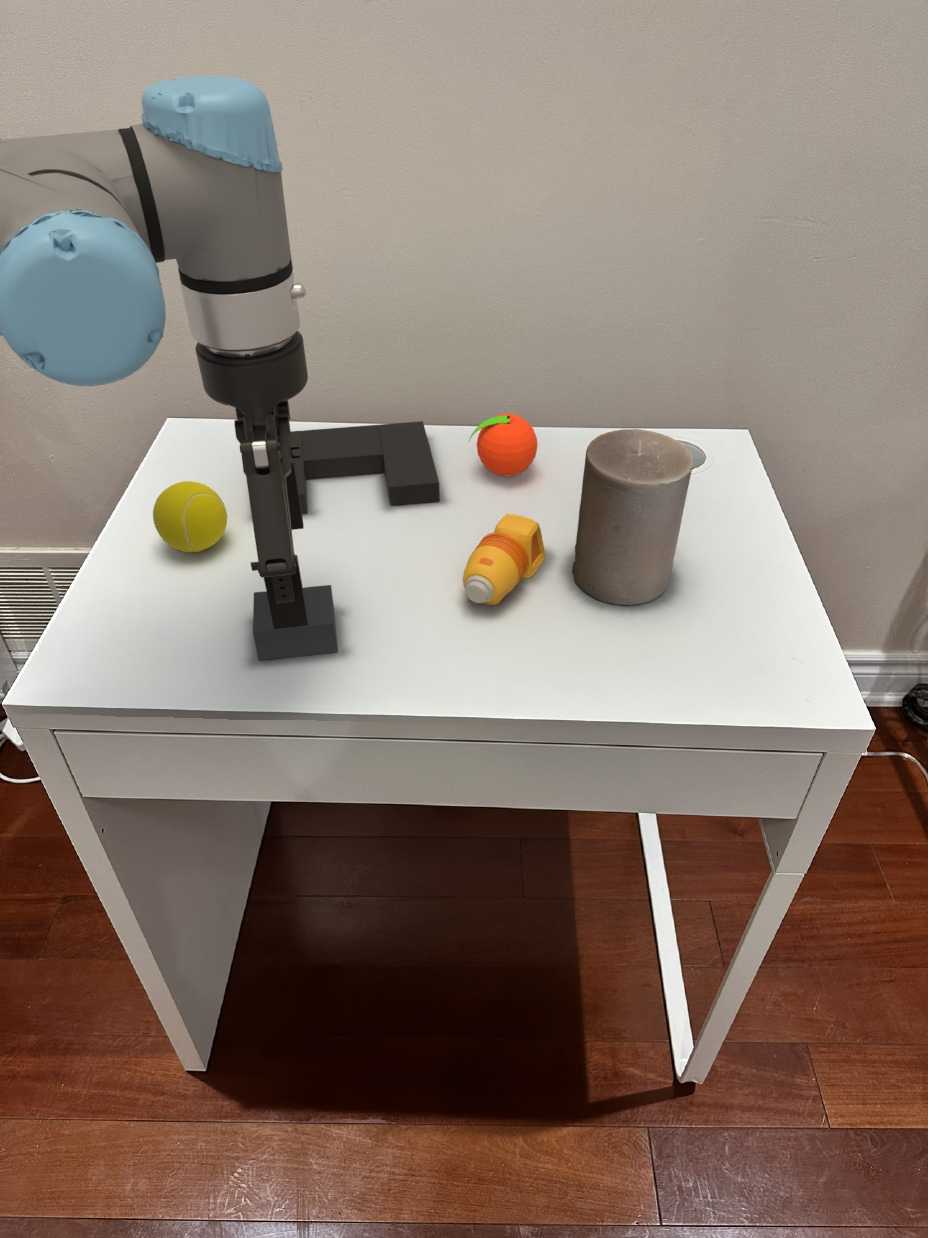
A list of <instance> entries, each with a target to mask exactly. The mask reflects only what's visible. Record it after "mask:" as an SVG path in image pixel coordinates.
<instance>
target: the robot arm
mask: <svg viewBox="0 0 928 1238" xmlns="http://www.w3.org/2000/svg"><path fill="white" fill-rule="evenodd" d="M141 108H142V114H141V121H142V123H140V124H133V125H132V124H131V125H130V126H129V127H125V128H124V127H123V128H118V129H108V130H97V131H96V130H95V131H87V132H86V131H85V132H84V131H83V132H74V133H63V134H62V133H61V134H53V135H41V136H39V135H38V136H30V137H29V136H27V137H16V138H15V137H14V138H6V139H5V138H0V336H1V337H3V338H4V341H6V343H7V345H8V347H10V349H11V350H12V351H13V352H14V353H15V354H16V355H17V356H18V357H19V358H20V359H21V361H23V362H24V363H25V364H26V365H27V366H29V367H30V368H32V369H33V370H35V371H36V372H38V373H39V374H42V375H43V376H45V377H47V378H48V379H51V380H54V381H56V382H59V383H60V384H61V383H62V384H66V385H70V386H76V387H97V386H104V385H110V384H114V383H117V382H120V381H122V380H124V379H126V378H128V377H130V376H132V375H133V374H135V373H136V372H138V370H140V369H141V368H142V367H144V365H145V364H147V362H149V360H150V359H151V357H152V356H153V355H154V353H156V350H157V349H158V346H159V344H160V343H161V340H162V339H163V337H164V331H165V326H166V317H167V315H166V313H167V311H166V303H165V301H166V300H165V296H164V292H163V291H164V290H163V287H162V282H161V279H160V268H159V267H158V265H157V263H164V262H165V261H169V260H175V261H176V264H177V266H178V268H177V269H178V271H177V272H178V275H179V279H178V280H179V284H180V289H181V294H182V297H183V302H184V303H183V304H184V307H185V313H186V316H187V322H188V326H189V330H190V335H191V336H192V338H193V340H194V341H196V342H197V343H196V345H195V354H196V359H197V364H198V367H199V372H200V377H201V382H202V386H203V389H204V391H205V393H206V395H207V396H208V397H209V398H210V399H211V400H213V401H214V402H217V403H218V404H221V405H223V406H229V407H232V408H234V409H235V415H236V419H234V420H233V421H234V432H235V433H234V434H235V438H236V440H237V442H238V443H239V452H240V453H241V463H242V471H243V474H244V475H245V478H246V485H247V492H248V498H249V506H250V514H251V520H252V527H253V534H254V541H255V542H254V543H255V548H256V554H257V555H256V556H257V561H252V562H250V566H251V567H250V568H251V571H252V572H256V571H257V573H258V574H259V577H260V579H261V578H263V581H264V586H265V591H267V596H268V601H269V606H270V611H271V616H272V621H273V626H274V629H280V628H289V627H298V626H307V625H308V618H307V612H306V606H305V599H304V593H303V588H304V586H303V582H302V576H301V570H300V564H299V563H300V562H299V558H298V555H297V554H295V547H294V537H293V531H294V530H303V529H305V528H304V520H303V514H302V512H301V505H300V499H299V492H298V486H297V479H296V473H295V467H294V463H291V461H290V460H298V459H301V458H300V449H299V446H291V447H290V444H289V443H290V440H291V439H292V437H291V431H292V430H291V425H290V424H291V423H290V420H291V412H290V403H289V400H291V399H293V398H294V397H296V396H297V395H298V394H300V393H301V392H302V391H303V390H304V389H305V387H306V385H307V384H308V379H309V374H308V365H307V359H306V358H307V357H306V350H305V342H304V337H303V335H302V333H301V332H300V331H298V330H299V329H300V327H301V320H300V312H299V311H300V310H299V303H298V301H297V299H298V300H299V299H303V298H305V296H306V295H307V293H306V288H305V286H304V283H300V282H297V283H294V280H295V275H294V271H293V270H294V267H293V260H292V252H291V245H290V236H289V235H290V234H289V229H288V220H287V212H286V202H285V195H284V185H283V179H282V178H283V177H282V171H283V170H284V169H283V163H282V162H281V159H280V154H279V150H278V144H277V138H276V133H275V130H274V122H273V118H272V112H271V108H270V103H269V100H268V98H267V95H266V94H265V92H264V91H262V89H261V88H260V87H259V86H257V85H256V84H255V83H253V82H252V81H250V80H248V79H245V78H241V77H236V76H230V75H229V76H227V75H190V76H189V75H188V76H182V77H177V78H175V79H164V80H160V81H157V82H154V83H151V84H150V85H148V86H147V87H146V88H145V89H144V91H143V92H142V95H141Z"/></svg>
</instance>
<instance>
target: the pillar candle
mask: <svg viewBox="0 0 928 1238" xmlns="http://www.w3.org/2000/svg"><path fill="white" fill-rule="evenodd" d="M585 450H586V451H585V459H584V467H583V474H582V484H581V494H580V502H579V510H578V522H577V531H576V538H575V545H574V561H573V563H572V567H571V573H572V576H573V578H574V582H575V584H576V585H577V586H578V587H579V588H580V590H582V591H583V592H584V593H586V594H587V595H589V596H591V597H592V598H594V599H596V600H599V601H600V602H605V603H608V604H615V605H620V606H621V605H622V606H635V605H642V604H646V603H649V602H651V601H653V600H657V599H658V598H659V597H660V596H662V595H663V594H664V593H665V592H666V590H667V588H668V586H669V584H670V578H671V574H672V570H673V569H672V568H673V565H674V559H675V556H676V555H675V554H676V550H677V545H678V542H679V535H680V531H681V526H682V521H683V516H684V509H685V506H686V502H687V501H686V500H687V495H688V489H689V485H690V481H691V475H692V472H693V468H694V461H695V460H694V457H693V455H692V453H691V451H690V450H689V449H688V447H687V445H686V444H685V443H684V442H682V441H681V440H678V439H677V440H676V439H674V438H673V437H671V436H668V435H665V434H663V433H660V432H657V431H652V430H646V429H639V428H627V429H626V428H623V429H617V430H612V431H608V432H605V433H602V434H599V435H598V436H597V437H595V438H594V439H592V440H591V441H590V443H589V444H588V446H587V447H586V449H585Z"/></svg>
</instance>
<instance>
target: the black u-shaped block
mask: <svg viewBox="0 0 928 1238" xmlns="http://www.w3.org/2000/svg"><path fill="white" fill-rule="evenodd" d="M290 431H291V437H292V439H291V440H290V443H289V444H290V447H291V446H299V449H300V458H301V459H298V460H290V461H291V463H294V467H295V473H296V479H297V486H298V492H299V499H300V505H301V512H302V515H303V514H304V515H305V514H309V513H308V512H309V510H308V489H307V480H313V479H314V480H315V479H327V478H337V477H349V476H362V475H373V474H374V475H375V474H384V479H385V485H386V491H387V497H388V502H389V506H390V507H394V506H404V505H415V504H426V503H427V504H428V503H438V502H440V480H439V477H438V473H437V470H436V466H435V462H434V458H433V455H432V451H431V446H430V443H429V439H428V436H427V435H428V434H427V432H426V428H425V424H424V421H421V420H419V421H409V422H396V423H383V424H368V425H358V426H355V425H354V426H345V427H344V426H343V427H331V428H317V429H306V430H305V429H304V430H290Z"/></svg>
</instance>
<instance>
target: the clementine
mask: <svg viewBox="0 0 928 1238" xmlns="http://www.w3.org/2000/svg"><path fill="white" fill-rule="evenodd" d="M478 431H479V432H478ZM476 433H478V436H477V440H476V449H477V451H476V452H477V456H478V458H479V460H480V462H481V463H482V465H483V466H484V467H485V468H486V469H487V470H488V471H490V472H491V473H493V474H496V475H498V476H502V477H512V476H515V475H519V474H520V473H523V472H524V471H526V469H528V468H529V467H530V466H531V464H532V463H533V461H534V460H535V458H536V455H537V451H538V438H537V434H536V432H535V429H534V428H533V427H532V425H531V424H530V423H529V422H528V421H527V420H526V419H525V418H522V417H521V416H520V415H518V414H517V415H516V414H513V413H501V414H499V415H496V416H494V417H491V418H488V419H487V420H485V421H483V422H481V423H480V424H479V425H478V426H477V427H476V428H475V429H474V430H473V431H472V433H471V434H470V437H469V439H468V442H470V441H471V439H472V437H473V436H474V435H475V434H476Z"/></svg>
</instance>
